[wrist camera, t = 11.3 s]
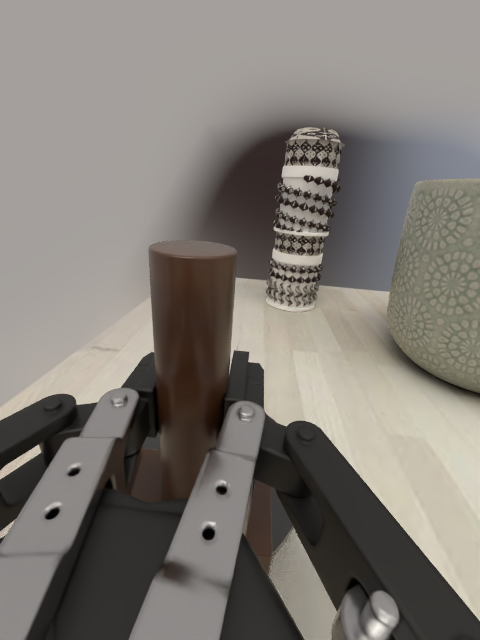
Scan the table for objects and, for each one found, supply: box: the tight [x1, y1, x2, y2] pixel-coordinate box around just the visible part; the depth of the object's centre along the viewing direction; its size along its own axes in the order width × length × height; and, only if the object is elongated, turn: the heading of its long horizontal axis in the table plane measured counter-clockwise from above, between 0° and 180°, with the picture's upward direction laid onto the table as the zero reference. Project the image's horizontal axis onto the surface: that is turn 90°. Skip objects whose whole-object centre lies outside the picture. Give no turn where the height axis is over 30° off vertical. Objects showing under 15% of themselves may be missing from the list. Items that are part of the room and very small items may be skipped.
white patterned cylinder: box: [266, 127, 344, 312], centre depth 44 cm, size 9×9×25 cm
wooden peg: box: [131, 240, 272, 574], centre depth 11 cm, size 4×7×14 cm, turn 86°
